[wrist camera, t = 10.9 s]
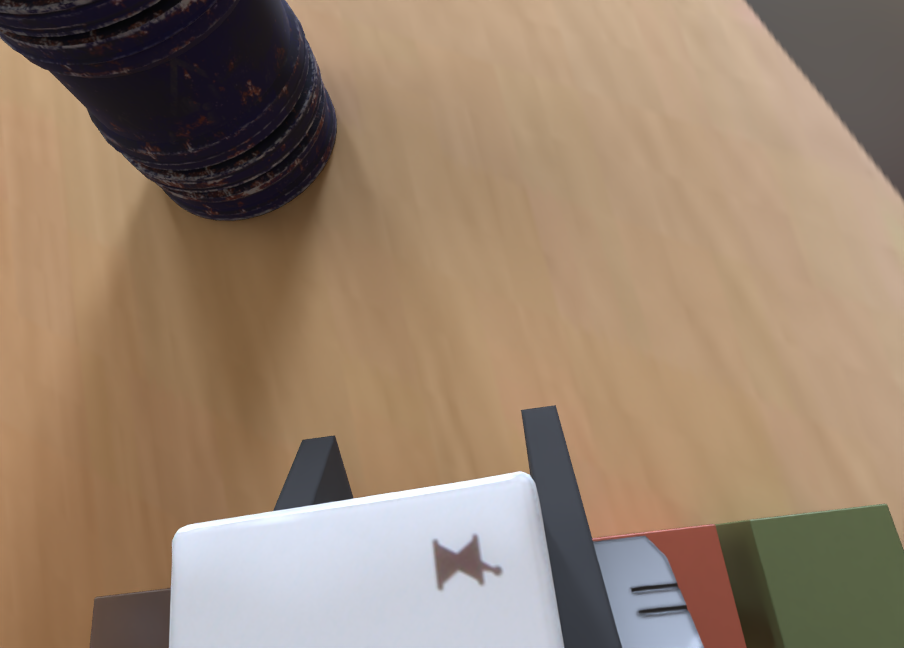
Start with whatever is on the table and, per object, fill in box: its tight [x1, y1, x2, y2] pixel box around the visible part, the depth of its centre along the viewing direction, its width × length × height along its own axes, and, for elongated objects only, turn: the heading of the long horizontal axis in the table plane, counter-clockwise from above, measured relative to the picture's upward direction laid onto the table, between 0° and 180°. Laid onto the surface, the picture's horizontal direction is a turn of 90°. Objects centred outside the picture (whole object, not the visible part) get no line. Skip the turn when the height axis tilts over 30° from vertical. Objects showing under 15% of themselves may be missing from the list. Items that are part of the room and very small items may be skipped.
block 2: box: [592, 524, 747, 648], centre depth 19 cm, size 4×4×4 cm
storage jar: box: [0, 0, 337, 221], centre depth 24 cm, size 10×10×15 cm
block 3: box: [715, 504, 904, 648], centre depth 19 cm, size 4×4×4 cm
